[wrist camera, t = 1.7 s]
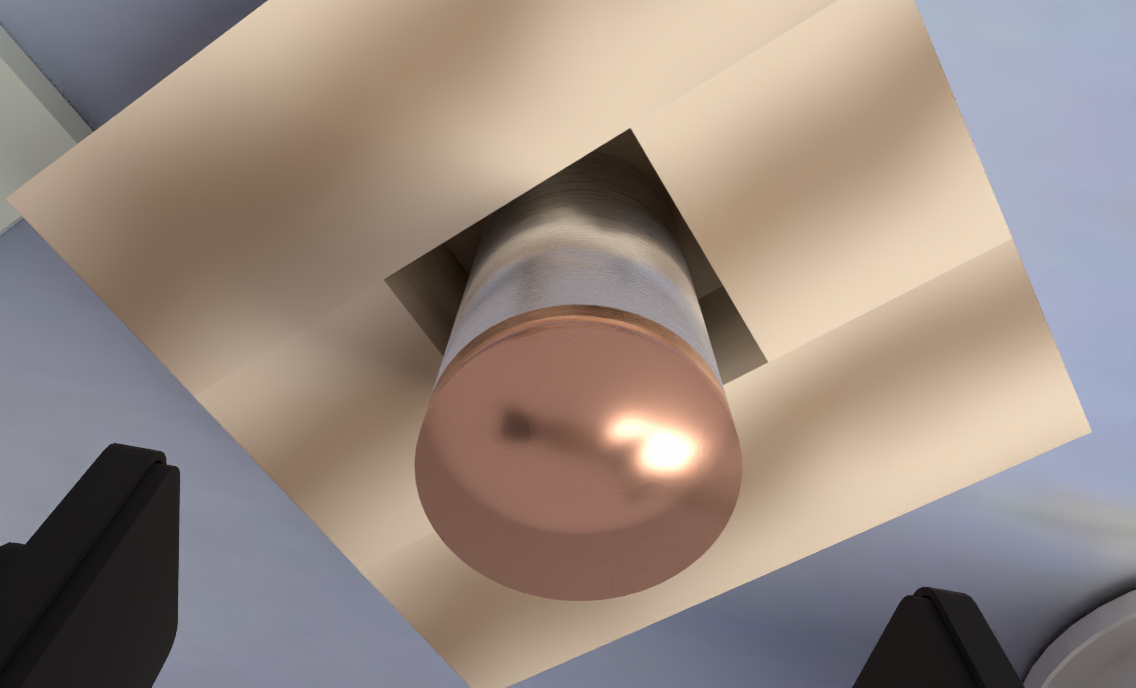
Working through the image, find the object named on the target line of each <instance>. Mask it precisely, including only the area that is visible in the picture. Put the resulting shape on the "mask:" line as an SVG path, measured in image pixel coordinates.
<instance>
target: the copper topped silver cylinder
mask: <svg viewBox="0 0 1136 688" xmlns="http://www.w3.org/2000/svg"><path fill="white" fill-rule="evenodd" d="M414 467H415V482H416V486H417V491H418V495H419V499H420V502H421V504H422V507H423V509H424V512H425V514H426V516H427V518H428V520H429V522H430V523H431V525H432V527H433V529H434V530H435V532H436V533H437V534H438V536H439V537H440V538H441V540H442V541H443V542H444V543H445V545H446V546H447V547H448V548H449V549H450V550H451V551H452V552H453V553H454V554H455V555H456V556H457V557H458V558H459V559H461V560H462V561H463V562H465V563H466V564H467V565H468V566H470V567H471V568H472V569H474V570H475V571H477V572H478V573H480V574H482V575H483V576H485V577H487V578H488V579H490V580H492V581H494V582H497V583H499V584H501V585H503V586H505V587H507V588H510V589H513V590H516V591H519V592H522V593H525V594H529V595H533V596H537V597H542V598H548V599H555V600H563V601H594V600H605V599H611V598H617V597H622V596H626V595H630V594H633V593H637V592H641V591H643V590H646V589H648V588H651V587H654V586H656V585H659V584H661V583H662V582H664V581H666V580H668V579H670V578H672V577H674V576H676V575H677V574H679V573H680V572H682V571H683V570H685V569H686V568H688V567H689V566H691V565H692V564H693V563H694V562H695V561H696V560H698V559H699V558H700V557H701V556H702V555H703V554H704V553H705V552H706V551H707V550H708V549H709V548H710V547H711V546H712V545H713V543H714V542H715V541H716V540H717V539H718V537H719V536H720V534H721V533H722V531H723V530H724V528H725V527H726V525H727V523H728V521H729V519H730V517H731V515H732V513H733V511H734V509H735V506H736V503H737V499H738V496H739V493H740V487H741V480H742V454H741V448H740V442H739V438H738V434H737V431H736V428H735V424H734V421H733V418H732V414H731V411H730V407H729V404H728V401H727V397H726V394H725V390H724V387H723V384H722V380H721V377H720V373H719V370H718V367H717V363H716V360H715V356H714V353H713V350H712V346H711V343H710V339H709V336H708V333H707V329H706V326H705V323H704V319H703V316H702V312H701V309H700V306H699V302H698V299H697V295H696V292H695V289H694V285H693V282H692V278H691V275H690V272H689V268H688V265H687V261H686V258H685V255H684V251H683V248H682V244H681V241H680V238H679V234H678V231H677V228H676V224H675V221H674V218H673V215H672V212H671V209H670V206H669V204H668V202H667V200H666V198H665V196H664V195H663V193H662V192H661V190H660V189H659V188H658V186H657V185H656V184H655V183H654V182H653V181H652V180H651V178H650V177H649V176H647V175H646V174H645V173H644V172H643V171H641V170H640V169H639V168H637V167H636V166H634V165H633V164H631V163H629V162H628V161H625V160H623V159H621V158H619V157H617V156H613V155H610V154H607V153H603V152H597V151H592V152H590V153H588V154H587V155H585V156H584V157H582V158H580V159H579V160H577V161H575V162H574V163H572V164H571V165H569V166H567V167H566V168H564V169H562V170H561V171H559V172H557V173H556V174H554V175H553V176H551V177H549V178H548V179H546V180H544V181H543V182H541V183H540V184H538V185H536V186H535V187H533V188H531V189H530V190H528V191H527V192H525V193H523V194H522V195H520V196H518V197H517V198H515V199H514V200H512V201H510V202H509V203H507V204H505V205H504V206H502V207H501V208H499V209H497V210H496V211H494V212H492V213H491V214H489V216H488V219H487V222H486V225H485V229H484V232H483V235H482V238H481V241H480V244H479V247H478V250H477V254H476V257H475V260H474V263H473V266H472V269H471V272H470V275H469V279H468V282H467V285H466V288H465V291H464V294H463V297H462V301H461V304H460V307H459V310H458V313H457V316H456V319H455V322H454V326H453V329H452V332H451V335H450V338H449V341H448V344H447V347H446V351H445V354H444V357H443V360H442V363H441V366H440V369H439V372H438V376H437V379H436V382H435V385H434V388H433V391H432V394H431V398H430V401H429V404H428V407H427V410H426V413H425V416H424V419H423V423H422V426H421V429H420V433H419V437H418V440H417V444H416V451H415V462H414Z"/></svg>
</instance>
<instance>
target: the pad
mask: <svg viewBox="0 0 1136 688" xmlns="http://www.w3.org/2000/svg"><path fill="white" fill-rule="evenodd" d="M91 133H93V130H92V129H91V128H90V127H89V126H88V125H87V124H86V122H85V121H84V120H83V119H82V118H81V117H80V116H79V114H78V113H77V112H76V111H75V110H74V109H73V108H72V106H71V105H70V104H69V103H68V102H67V101H66V99H65V98H64V97H63V96H62V95H61V94H60V93H59V91H58V90H57V89H56V88H55V87H54V86H53V85H52V83H51V82H50V81H49V80H48V79H47V78H46V77H45V75H44V74H43V73H42V72H41V71H40V70H39V68H38V67H37V66H36V65H35V64H34V63H33V62H32V60H31V59H30V58H29V57H28V56H27V55H26V54H25V52H24V51H23V50H22V49H21V48H20V47H19V46H18V44H17V43H16V42H15V41H14V40H13V39H12V38H11V36H10V35H9V34H8V33H7V32H6V31H5V29H4V28H3V27H2V26H1V25H0V235H2V234H3V233H4V232H6V231H7V230H8V229H10V228H11V227H12V226H14V225H15V224H16V223H18V222H19V221H21V220H22V219H23V217H22V215H21V214H20V213H19V212H18V211H17V210H16V209H15V208H14V207H13V206H12V205H11V204H10V203H9V202H8V201H7V200H6V199H5V198H7V197H8V196H9V195H11V194H12V193H13V192H15V191H16V190H17V189H19V188H20V187H21V186H23V185H24V184H25V183H27V182H28V181H29V180H31V179H32V178H33V177H35V176H36V175H37V174H39V173H40V172H41V171H42V170H44V169H45V168H46V167H48V166H49V165H50V164H52V163H53V162H54V161H56V160H57V159H58V158H60V157H61V156H62V155H64V154H65V153H66V152H68V151H69V150H70V149H72V148H73V147H74V146H76V145H77V144H78V143H80V142H81V141H82V140H84V139H85V138H86V137H87V136H89V135H90V134H91Z"/></svg>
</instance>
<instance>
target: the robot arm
mask: <svg viewBox="0 0 1136 688" xmlns="http://www.w3.org/2000/svg"><path fill="white" fill-rule="evenodd" d="M179 504H180V471H179V469H178V467H176V466H171V465H167V464H166V457H165V454H164V453H163V452H161V451H157V450H151V449H145V448H140V447H134V446H128V445H123V444H117V443H113V444H110V445H109V446H108V447H107V448H106V449H105V450H104V451H103V452H102V453H101V454H100V456H99V457H98V458H97V459H96V460H95V462H94V463H93V464H92V465H91V466H90V468H89V469H88V470H87V471H86V472H85V474H84V475H83V476H82V477H81V478H80V480H79V481H78V482H77V483H76V484H75V486H74V487H73V488H72V489H71V490H70V492H69V493H68V494H67V495H66V496H65V498H64V499H63V500H62V501H61V502H60V504H59V505H58V506H57V507H56V508H55V510H54V511H53V512H52V513H51V514H50V516H49V517H48V518H47V519H46V520H45V522H44V523H43V524H42V525H41V526H40V528H39V529H38V530H37V531H36V532H35V534H34V535H33V536H32V537H31V538H30V540H29V541H28V542H27V543H26V544H19V543H11V542H9V543H7V544H5V545H2V546H0V688H152V686H153V684H154V682H155V680H156V678H157V676H158V674H159V672H160V670H161V669H162V667H163V665H164V663H165V661H166V659H167V657H168V655H169V653H170V651H171V648H172V645H173V643H174V639H175V636H176V631H177V624H178V570H179ZM852 688H1136V590H1133V591H1130V592H1128V593H1126V594H1124V595H1122V596H1120V597H1118V598H1116V599H1114V600H1112V601H1110V602H1108V603H1106V604H1104V605H1102V606H1100V607H1098V608H1097V609H1095V610H1094V611H1092V612H1091V613H1089V614H1088V615H1086V616H1085V617H1083V618H1082V619H1080V620H1079V621H1077V622H1076V623H1074V624H1073V625H1071V626H1070V627H1069V628H1068V629H1067V630H1066V631H1065V632H1064V633H1063V634H1061V635H1060V636H1059V637H1058V638H1057V639H1056V640H1055V641H1054V642H1053V643H1051V644H1050V645H1049V646H1048V648H1047V649H1046V650H1045V651H1044V653H1043V654H1042V655H1041V657H1040V658H1039V659H1038V660H1037V662H1036V663H1035V664H1034V665H1033V667H1032V668H1031V670H1030V672H1029V674H1028V676H1027V678H1026V680H1025V682H1024V684H1022V682H1021V680H1020V679H1019V677H1018V675H1017V673H1016V672H1015V670H1014V668H1013V667H1012V665H1011V663H1010V661H1009V660H1008V658H1007V656H1006V655H1005V653H1004V651H1003V649H1002V648H1001V646H1000V644H999V643H998V641H997V639H996V637H995V636H994V634H993V632H992V630H991V629H990V627H989V625H988V624H987V622H986V620H985V618H984V617H983V615H982V613H981V612H980V610H979V608H978V606H977V605H976V603H975V602H974V601H973V599H972V598H971V597H970V596H968V595H966V594H964V593H959V592H953V591H947V590H942V589H936V588H930V587H921V588H919V589H918V590H916V592H915V593H914V594H913V596H912V595H907V596H906V597H904V598H903V599H902V600H901V602H900V603H899V605H898V607H897V609H896V611H895V612H894V614H893V616H892V618H891V619H890V621H889V623H888V625H887V627H886V628H885V630H884V632H883V634H882V635H881V637H880V639H879V641H878V643H877V644H876V646H875V648H874V650H873V652H872V653H871V655H870V657H869V659H868V660H867V662H866V664H865V666H864V668H863V669H862V671H861V673H860V675H859V677H858V678H857V680H856V682H855V684H854V685H853V687H852Z"/></svg>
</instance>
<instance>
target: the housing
mask: <svg viewBox="0 0 1136 688" xmlns="http://www.w3.org/2000/svg"><path fill="white" fill-rule="evenodd" d="M592 151H597V152H603V153H607V154H610V155H613V156H617V157H619V158H621V159H623V160H625V161H628V162H629V163H631V164H633V165H634V166H636V167H637V168H639V169H640V170H641V171H643V172H644V173H645V174H646V175H647V176H649V177H650V178H651V180H652V181H653V182H654V183H655V184H656V185H657V186H658V188H659V189H660V190H661V192H662V193H663V195H664V196H665V198H666V200H667V202H668V204H669V206H670V209H671V212H672V215H673V218H674V221H675V224H676V228H677V231H678V234H679V238H680V241H681V244H682V248H683V251H684V255H685V258H686V261H687V265H688V268H689V272H690V275H691V278H692V282H693V285H694V289H695V292H696V295H697V299H698V302H699V306H700V309H701V312H702V316H703V319H704V323H705V326H706V329H707V333H708V336H709V339H710V343H711V346H712V350H713V353H714V356H715V360H716V363H717V367H718V370H719V373H720V377H721V380H722V384H723V387H724V390H725V394H726V397H727V401H728V404H729V407H730V411H731V414H732V418H733V421H734V424H735V428H736V431H737V434H738V438H739V442H740V448H741V454H742V480H741V487H740V493H739V496H738V499H737V503H736V506H735V509H734V511H733V513H732V515H731V517H730V519H729V521H728V523H727V525H726V527H725V528H724V530H723V531H722V533H721V534H720V536H719V537H718V539H717V540H716V541H715V542H714V543H713V545H712V546H711V547H710V548H709V549H708V550H707V551H706V552H705V553H704V554H703V555H702V556H701V557H700V558H699V559H698V560H696V561H695V562H694V563H693V564H692V565H691V566H689V567H688V568H686V569H685V570H683V571H682V572H680V573H679V574H677V575H676V576H674V577H672V578H670V579H668V580H666V581H664V582H662V583H661V584H659V585H656V586H654V587H651V588H648V589H646V590H643V591H641V592H637V593H633V594H630V595H626V596H622V597H617V598H611V599H605V600H594V601H563V600H555V599H548V598H542V597H537V596H533V595H529V594H525V593H522V592H519V591H516V590H513V589H510V588H507V587H505V586H503V585H501V584H499V583H497V582H494V581H492V580H490V579H488V578H487V577H485V576H483V575H482V574H480V573H478V572H477V571H475V570H474V569H472V568H471V567H470V566H468V565H467V564H466V563H465V562H463V561H462V560H461V559H459V558H458V557H457V556H456V555H455V554H454V553H453V552H452V551H451V550H450V549H449V548H448V547H447V546H446V545H445V543H444V542H443V541H442V540H441V538H440V537H439V536H438V534H437V533H436V532H435V530H434V529H433V527H432V525H431V523H430V522H429V520H428V518H427V516H426V514H425V512H424V509H423V507H422V504H421V502H420V499H419V495H418V491H417V486H416V482H415V467H414V462H415V451H416V444H417V440H418V437H419V433H420V429H421V426H422V423H423V419H424V416H425V413H426V410H427V407H428V404H429V401H430V398H431V394H432V391H433V388H434V385H435V382H436V379H437V376H438V372H439V369H440V366H441V363H442V360H443V357H444V354H445V351H446V347H447V344H448V341H449V338H450V335H451V332H452V329H453V326H454V322H455V319H456V316H457V313H458V310H459V307H460V304H461V301H462V297H463V294H464V291H465V288H466V285H467V282H468V279H469V275H470V272H471V269H472V266H473V263H474V260H475V257H476V254H477V250H478V247H479V244H480V241H481V238H482V235H483V232H484V229H485V225H486V222H487V219H488V216H489V214H491V213H492V212H494V211H496V210H497V209H499V208H501V207H502V206H504V205H505V204H507V203H509V202H510V201H512V200H514V199H515V198H517V197H518V196H520V195H522V194H523V193H525V192H527V191H528V190H530V189H531V188H533V187H535V186H536V185H538V184H540V183H541V182H543V181H544V180H546V179H548V178H549V177H551V176H553V175H554V174H556V173H557V172H559V171H561V170H562V169H564V168H566V167H567V166H569V165H571V164H572V163H574V162H575V161H577V160H579V159H580V158H582V157H584V156H585V155H587V154H588V153H590V152H592ZM5 199H6V200H7V201H8V202H9V203H10V204H11V205H12V206H13V207H14V208H15V209H16V210H17V211H18V212H19V213H20V214H21V215H22V217H23V218H24V219H25V220H26V221H27V222H28V223H29V224H30V225H31V226H32V227H33V228H34V229H35V230H36V231H37V232H38V233H39V234H40V235H41V237H42V238H43V239H44V240H45V241H46V242H47V243H48V244H49V245H50V246H51V247H52V248H53V249H54V250H55V251H56V252H57V253H58V254H59V255H60V257H61V258H62V259H63V260H64V261H65V262H66V263H67V264H68V265H69V266H70V267H71V268H72V269H73V270H74V271H75V272H76V273H77V274H78V275H79V276H80V278H81V279H82V280H83V281H84V282H85V283H86V284H87V285H88V286H89V287H90V288H91V289H92V290H93V291H94V292H95V293H96V294H97V295H98V296H99V298H100V299H101V300H102V301H103V302H104V303H105V304H106V305H107V306H108V307H109V308H110V309H111V310H112V311H113V312H114V313H115V314H116V315H117V316H118V317H119V319H120V320H121V321H122V322H123V323H124V324H125V325H126V326H127V327H128V328H129V329H130V330H131V331H132V332H133V333H134V334H135V335H136V336H137V337H138V339H139V340H140V341H141V342H142V343H143V344H144V345H145V346H146V347H147V348H148V349H149V350H150V351H151V352H152V353H153V354H154V355H155V356H156V357H157V358H158V360H159V361H160V362H161V363H162V364H163V365H164V366H165V367H166V368H167V369H168V370H169V371H170V372H171V373H172V374H173V375H174V376H175V377H176V378H177V380H178V381H179V382H180V383H181V384H182V385H183V386H184V387H185V388H186V389H187V390H188V391H189V392H190V393H191V394H192V395H193V396H194V397H195V398H196V399H197V401H198V402H199V403H200V404H201V405H202V406H203V407H204V408H205V409H206V410H207V411H208V412H209V413H210V414H211V415H212V416H213V417H214V418H215V419H216V421H217V422H218V423H219V424H220V425H221V426H222V427H223V428H224V429H225V430H226V431H227V432H228V433H229V434H230V435H231V436H232V437H233V438H234V439H235V440H236V442H237V443H238V444H239V445H240V446H241V447H242V448H243V449H244V450H245V451H246V452H247V453H248V454H249V455H250V456H251V457H252V458H253V459H254V460H255V462H256V463H257V464H258V465H259V466H260V467H261V468H262V469H263V470H264V471H265V472H266V473H267V474H268V475H269V476H270V477H271V478H272V479H273V480H274V481H275V483H276V484H277V485H278V486H279V487H280V488H281V489H282V490H283V491H284V492H285V493H286V494H287V495H288V496H289V497H290V498H291V499H292V500H293V501H294V503H295V504H296V505H297V506H298V507H299V508H300V509H301V510H302V511H303V512H304V513H305V514H306V515H307V516H308V517H309V518H310V519H311V520H312V521H313V522H314V524H315V525H316V526H317V527H318V528H319V529H320V530H321V531H322V532H323V533H324V534H325V535H326V536H327V537H328V538H329V539H330V540H331V541H332V542H333V544H334V545H335V546H336V547H337V548H338V549H339V550H340V551H341V552H342V553H343V554H344V555H345V556H346V557H347V558H348V559H349V560H350V561H351V562H352V563H353V565H354V566H355V567H356V568H357V569H358V570H359V571H360V572H361V573H362V574H363V575H364V576H365V577H366V578H367V579H368V580H369V581H370V582H371V583H372V585H373V586H374V587H375V588H376V589H377V590H378V591H379V592H380V593H381V594H382V595H383V596H384V597H385V598H386V599H387V600H388V601H389V602H390V603H391V604H392V606H393V607H394V608H395V609H396V610H397V611H398V612H399V613H400V614H401V615H402V616H403V617H404V618H405V619H406V620H407V621H408V622H409V623H410V624H411V626H412V627H413V628H414V629H415V630H416V631H417V632H418V633H419V634H420V635H421V636H422V637H423V638H424V639H425V640H426V641H427V642H428V643H429V644H430V645H431V647H432V648H433V649H434V650H435V651H436V652H437V653H438V654H439V655H440V656H441V657H442V658H443V659H444V660H445V661H446V662H447V663H448V664H449V665H450V667H451V668H452V669H453V670H454V671H455V672H456V673H457V674H458V675H459V676H460V677H461V678H462V679H463V680H464V681H465V682H466V683H467V684H468V685H469V686H470V688H507V687H509V686H512V685H514V684H516V683H518V682H521V681H523V680H525V679H528V678H530V677H532V676H534V675H537V674H539V673H541V672H544V671H546V670H548V669H550V668H553V667H555V666H557V665H560V664H562V663H564V662H566V661H569V660H571V659H573V658H576V657H578V656H580V655H582V654H585V653H587V652H589V651H592V650H594V649H596V648H598V647H601V646H603V645H605V644H608V643H610V642H612V641H614V640H617V639H619V638H621V637H624V636H626V635H628V634H630V633H633V632H635V631H637V630H640V629H642V628H644V627H646V626H649V625H651V624H653V623H656V622H658V621H660V620H662V619H665V618H667V617H669V616H672V615H674V614H676V613H679V612H681V611H683V610H685V609H688V608H690V607H692V606H695V605H697V604H699V603H701V602H704V601H706V600H708V599H711V598H713V597H715V596H717V595H720V594H722V593H724V592H727V591H729V590H731V589H733V588H736V587H738V586H740V585H743V584H745V583H747V582H749V581H752V580H754V579H756V578H759V577H761V576H763V575H765V574H768V573H770V572H772V571H775V570H777V569H779V568H781V567H784V566H786V565H788V564H791V563H793V562H795V561H797V560H800V559H802V558H804V557H807V556H809V555H811V554H813V553H816V552H818V551H820V550H823V549H825V548H827V547H829V546H832V545H834V544H836V543H839V542H841V541H843V540H846V539H848V538H850V537H852V536H855V535H857V534H859V533H862V532H864V531H866V530H868V529H871V528H873V527H875V526H878V525H880V524H882V523H884V522H887V521H889V520H891V519H894V518H896V517H898V516H900V515H903V514H905V513H907V512H910V511H912V510H914V509H916V508H919V507H921V506H923V505H926V504H928V503H930V502H932V501H935V500H937V499H939V498H942V497H944V496H946V495H948V494H951V493H953V492H955V491H958V490H960V489H962V488H964V487H967V486H969V485H971V484H974V483H976V482H978V481H980V480H983V479H985V478H987V477H990V476H992V475H994V474H997V473H999V472H1001V471H1003V470H1006V469H1008V468H1010V467H1013V466H1015V465H1017V464H1019V463H1022V462H1024V461H1026V460H1029V459H1031V458H1033V457H1035V456H1038V455H1040V454H1042V453H1045V452H1047V451H1049V450H1051V449H1054V448H1056V447H1058V446H1061V445H1063V444H1065V443H1067V442H1070V441H1072V440H1074V439H1077V438H1079V437H1081V436H1083V435H1086V434H1088V433H1090V432H1092V431H1091V428H1090V426H1089V424H1088V421H1087V419H1086V416H1085V414H1084V411H1083V409H1082V407H1081V404H1080V402H1079V399H1078V397H1077V394H1076V392H1075V390H1074V387H1073V385H1072V382H1071V380H1070V377H1069V375H1068V373H1067V370H1066V368H1065V365H1064V363H1063V360H1062V358H1061V355H1060V353H1059V351H1058V348H1057V346H1056V343H1055V341H1054V338H1053V336H1052V334H1051V331H1050V329H1049V326H1048V324H1047V321H1046V319H1045V317H1044V314H1043V312H1042V309H1041V307H1040V304H1039V302H1038V300H1037V297H1036V295H1035V292H1034V290H1033V287H1032V285H1031V283H1030V280H1029V278H1028V275H1027V273H1026V270H1025V268H1024V266H1023V263H1022V261H1021V258H1020V256H1019V253H1018V251H1017V249H1016V246H1015V244H1014V241H1013V239H1012V236H1011V234H1010V232H1009V229H1008V227H1007V224H1006V222H1005V219H1004V217H1003V215H1002V212H1001V210H1000V207H999V205H998V202H997V200H996V198H995V195H994V193H993V190H992V188H991V185H990V183H989V181H988V178H987V176H986V173H985V171H984V168H983V166H982V164H981V161H980V159H979V156H978V154H977V151H976V149H975V147H974V144H973V142H972V139H971V137H970V134H969V132H968V130H967V127H966V125H965V122H964V120H963V117H962V115H961V113H960V110H959V108H958V105H957V103H956V100H955V98H954V96H953V93H952V91H951V88H950V86H949V83H948V81H947V79H946V76H945V74H944V71H943V69H942V66H941V64H940V62H939V59H938V57H937V54H936V52H935V49H934V47H933V44H932V42H931V40H930V37H929V35H928V32H927V30H926V27H925V25H924V23H923V20H922V18H921V15H920V13H919V10H918V8H917V6H916V3H915V1H914V0H268V1H266V2H265V3H264V4H262V5H261V6H260V7H258V8H257V9H256V10H254V11H253V12H252V13H250V14H249V15H248V16H246V17H245V18H244V19H242V20H241V21H240V22H238V23H237V24H236V25H234V26H233V27H232V28H231V29H229V30H228V31H227V32H225V33H224V34H223V35H221V36H220V37H219V38H217V39H216V40H215V41H213V42H212V43H211V44H209V45H208V46H207V47H205V48H204V49H203V50H201V51H200V52H199V53H197V54H196V55H195V56H193V57H192V58H191V59H189V60H188V61H187V62H185V63H184V64H183V65H182V66H180V67H179V68H178V69H176V70H175V71H174V72H172V73H171V74H170V75H168V76H167V77H166V78H164V79H163V80H162V81H160V82H159V83H158V84H156V85H155V86H154V87H152V88H151V89H150V90H148V91H147V92H146V93H144V94H143V95H142V96H140V97H139V98H138V99H136V100H135V101H134V102H133V103H131V104H130V105H129V106H127V107H126V108H125V109H123V110H122V111H121V112H119V113H118V114H117V115H115V116H114V117H113V118H111V119H110V120H109V121H107V122H106V123H105V124H103V125H102V126H101V127H99V128H98V129H97V130H95V131H94V132H93V133H91V134H90V135H89V136H87V137H86V138H85V139H84V140H82V141H81V142H80V143H78V144H77V145H76V146H74V147H73V148H72V149H70V150H69V151H68V152H66V153H65V154H64V155H62V156H61V157H60V158H58V159H57V160H56V161H54V162H53V163H52V164H50V165H49V166H48V167H46V168H45V169H44V170H42V171H41V172H40V173H39V174H37V175H36V176H35V177H33V178H32V179H31V180H29V181H28V182H27V183H25V184H24V185H23V186H21V187H20V188H19V189H17V190H16V191H15V192H13V193H12V194H11V195H9V196H8V197H7V198H5Z"/></svg>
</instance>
